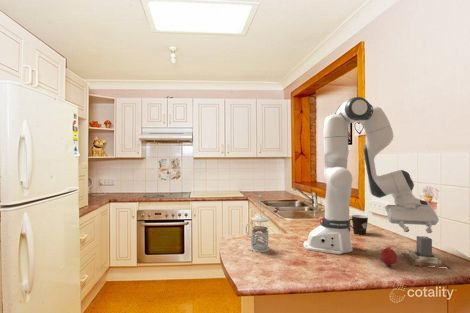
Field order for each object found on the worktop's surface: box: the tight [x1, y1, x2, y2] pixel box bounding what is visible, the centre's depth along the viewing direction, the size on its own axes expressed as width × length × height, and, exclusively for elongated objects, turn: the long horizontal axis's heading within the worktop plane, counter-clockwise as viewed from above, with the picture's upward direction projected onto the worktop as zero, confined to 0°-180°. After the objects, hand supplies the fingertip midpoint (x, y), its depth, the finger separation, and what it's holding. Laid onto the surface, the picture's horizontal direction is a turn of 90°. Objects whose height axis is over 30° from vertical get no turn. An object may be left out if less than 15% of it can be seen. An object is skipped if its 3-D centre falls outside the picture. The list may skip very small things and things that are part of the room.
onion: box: [379, 245, 398, 267], centre depth 113 cm, size 6×6×8 cm
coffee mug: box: [349, 214, 369, 236], centre depth 163 cm, size 12×9×10 cm
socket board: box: [401, 249, 450, 269], centre depth 119 cm, size 13×13×3 cm
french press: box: [245, 195, 271, 253], centre depth 134 cm, size 10×12×25 cm
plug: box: [416, 235, 433, 257], centre depth 119 cm, size 4×4×9 cm
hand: (418, 231), depth 123 cm, fingers open, 8 cm apart
